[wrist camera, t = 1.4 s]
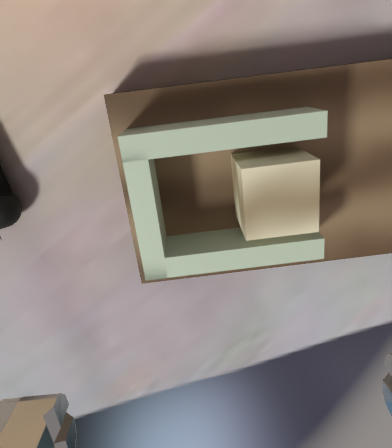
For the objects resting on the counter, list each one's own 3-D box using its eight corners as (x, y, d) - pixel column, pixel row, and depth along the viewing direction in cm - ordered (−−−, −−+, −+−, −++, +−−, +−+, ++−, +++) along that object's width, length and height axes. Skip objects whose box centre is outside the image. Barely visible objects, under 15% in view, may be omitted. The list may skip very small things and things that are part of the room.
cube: (230, 154, 24) (241, 169, 20) (296, 146, 24) (320, 159, 20) (235, 215, 26) (246, 240, 22) (296, 207, 26) (318, 231, 22)
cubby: (126, 129, 23) (117, 136, 20) (306, 106, 23) (327, 110, 20) (149, 256, 27) (145, 280, 24) (306, 237, 27) (324, 258, 24)
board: (112, 93, 25) (103, 94, 22) (615, 30, 25) (669, 24, 22) (145, 265, 30) (141, 283, 28) (560, 214, 30) (599, 227, 27)
